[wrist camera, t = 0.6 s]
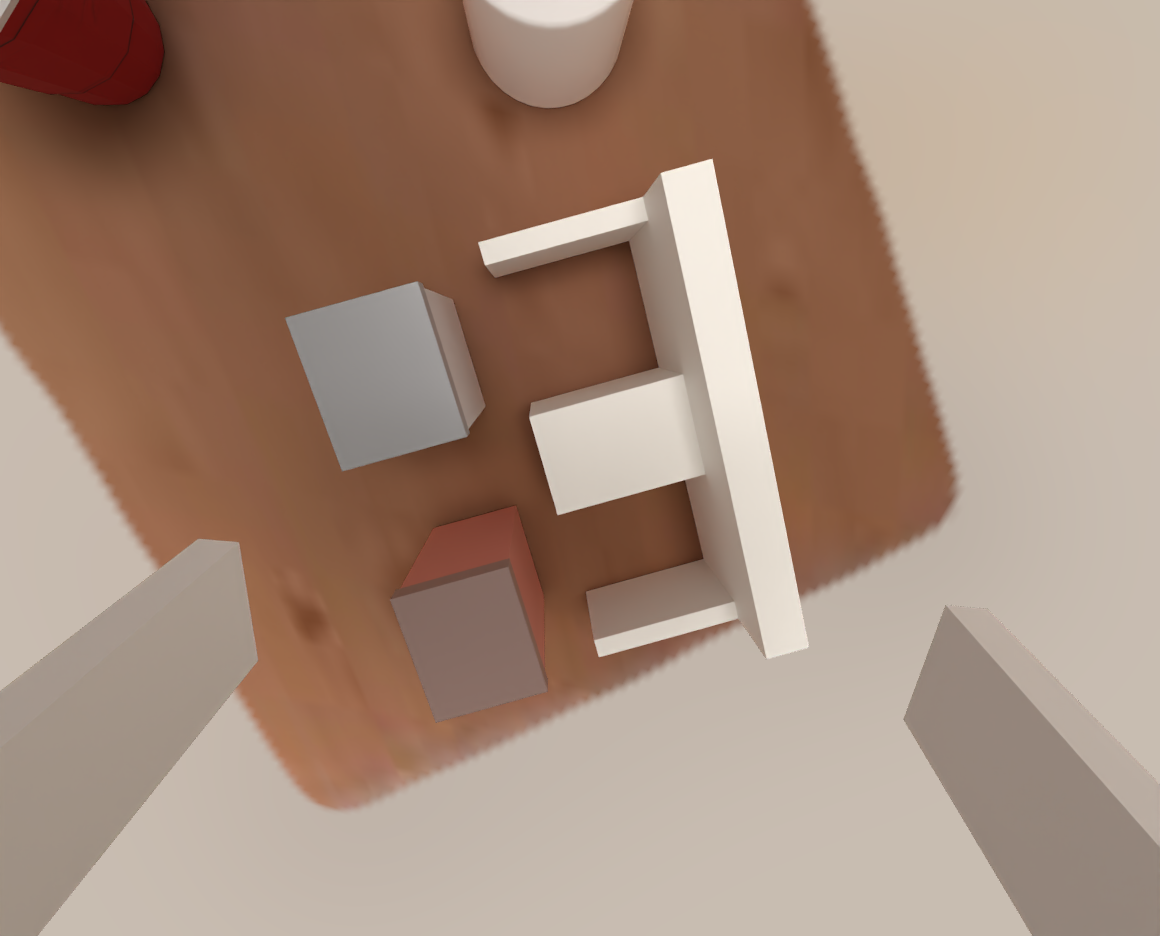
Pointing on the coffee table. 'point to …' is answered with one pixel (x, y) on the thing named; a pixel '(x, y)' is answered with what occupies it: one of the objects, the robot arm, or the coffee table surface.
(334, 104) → the coffee table surface
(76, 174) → the coffee table surface
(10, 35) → the plastic cup
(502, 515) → the capped red pillar
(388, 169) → the coffee table surface
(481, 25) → the pill bottle
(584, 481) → the rack
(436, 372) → the grey capped white pillar
